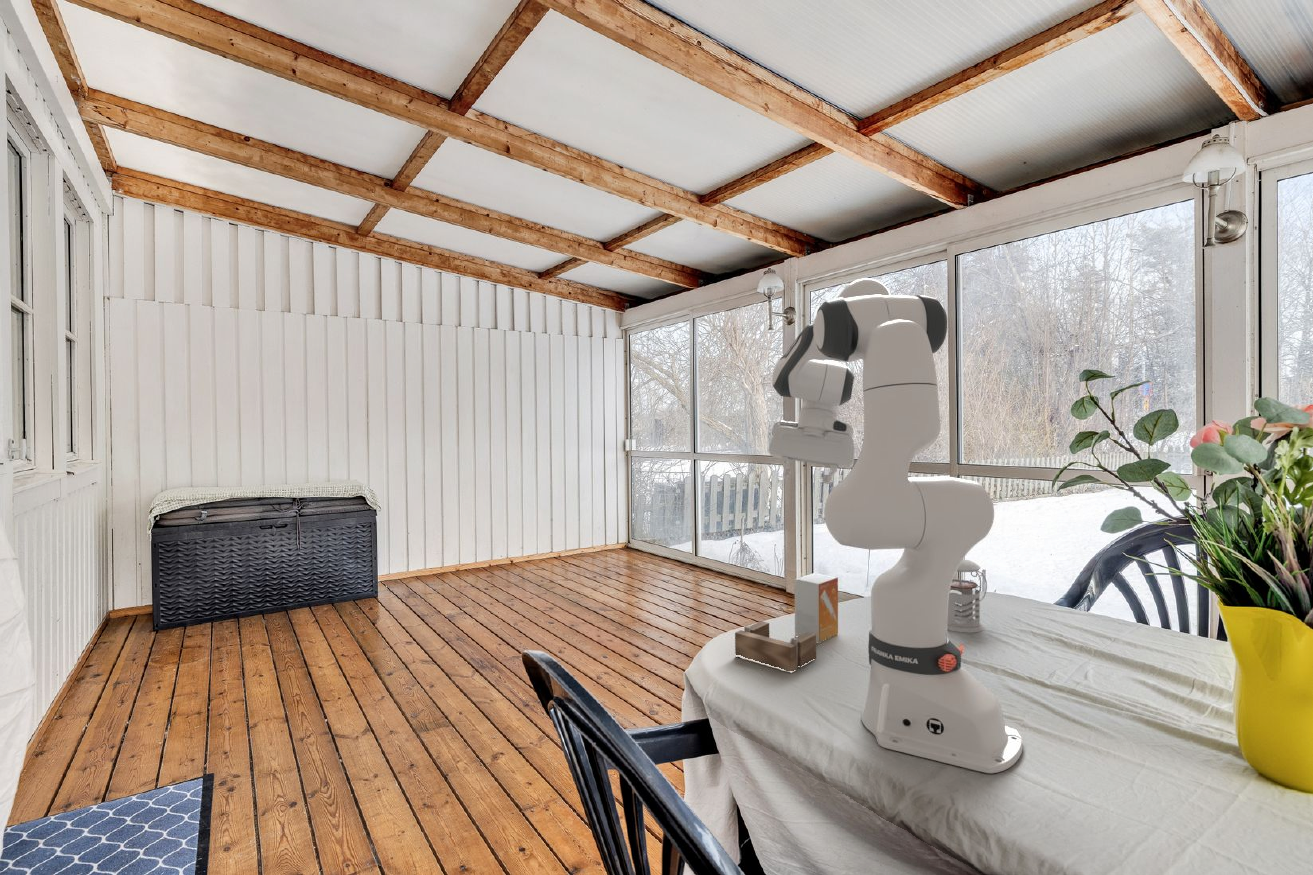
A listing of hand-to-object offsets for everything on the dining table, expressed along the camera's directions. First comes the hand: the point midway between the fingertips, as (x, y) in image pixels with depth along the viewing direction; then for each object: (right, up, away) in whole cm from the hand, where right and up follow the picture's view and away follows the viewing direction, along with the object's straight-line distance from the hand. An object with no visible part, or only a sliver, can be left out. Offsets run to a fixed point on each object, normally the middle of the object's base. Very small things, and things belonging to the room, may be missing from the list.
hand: (806, 479), depth 153 cm
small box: (0, -34, -12) cm, 36 cm away
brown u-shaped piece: (-12, -34, -24) cm, 44 cm away
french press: (+35, -33, -6) cm, 48 cm away
